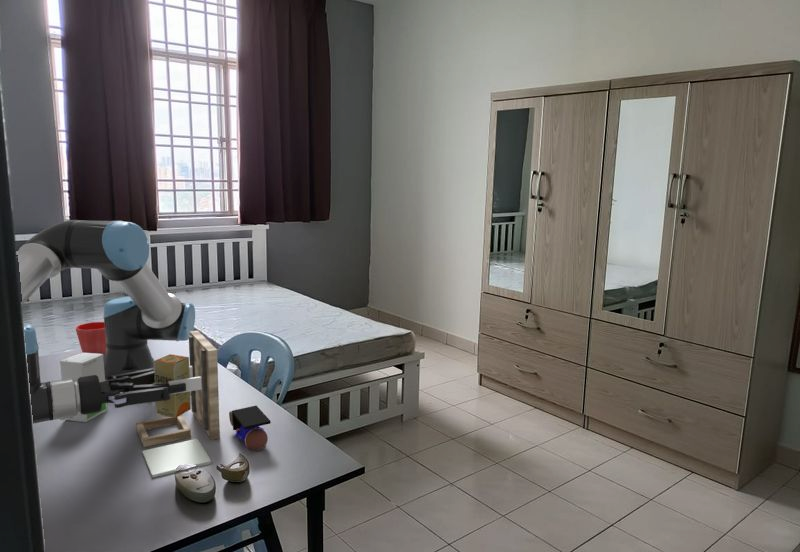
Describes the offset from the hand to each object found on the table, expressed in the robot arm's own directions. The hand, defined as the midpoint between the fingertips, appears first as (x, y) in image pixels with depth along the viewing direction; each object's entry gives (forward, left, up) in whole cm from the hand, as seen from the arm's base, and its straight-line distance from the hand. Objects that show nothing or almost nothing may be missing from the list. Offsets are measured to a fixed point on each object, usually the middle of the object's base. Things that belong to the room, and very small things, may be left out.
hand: (196, 377), depth 128 cm
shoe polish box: (+4, -3, -7) cm, 9 cm away
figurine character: (-10, +7, -18) cm, 22 cm away
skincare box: (-8, -39, -18) cm, 44 cm away
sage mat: (+4, -3, -18) cm, 19 cm away
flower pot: (-48, -74, -18) cm, 90 cm away
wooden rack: (-8, -12, -18) cm, 23 cm away
